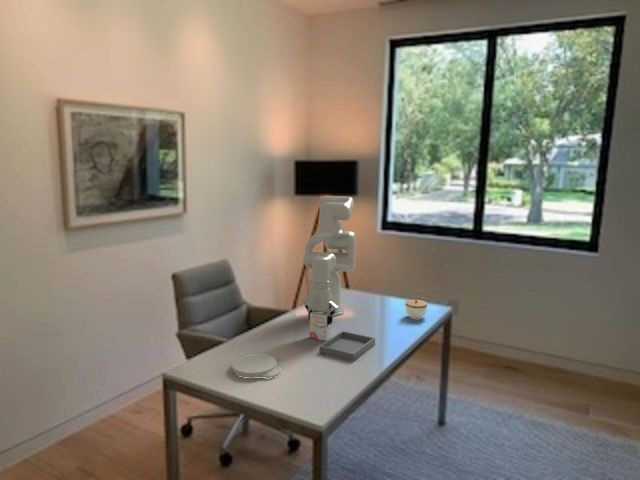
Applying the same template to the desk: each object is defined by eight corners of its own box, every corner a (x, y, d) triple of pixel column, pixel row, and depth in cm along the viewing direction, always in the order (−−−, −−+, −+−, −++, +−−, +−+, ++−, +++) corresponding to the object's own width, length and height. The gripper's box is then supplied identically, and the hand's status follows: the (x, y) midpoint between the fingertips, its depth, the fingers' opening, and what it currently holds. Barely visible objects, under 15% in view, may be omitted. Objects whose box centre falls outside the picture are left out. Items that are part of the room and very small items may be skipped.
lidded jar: (429, 316, 244) (430, 298, 242) (421, 322, 235) (422, 304, 233) (409, 312, 250) (410, 295, 248) (401, 318, 241) (402, 300, 239)
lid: (263, 386, 172) (263, 379, 171) (221, 373, 182) (221, 365, 181) (291, 368, 186) (291, 361, 185) (251, 356, 196) (251, 349, 196)
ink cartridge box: (309, 338, 215) (309, 306, 213) (314, 334, 220) (314, 303, 217) (326, 341, 212) (326, 309, 209) (331, 337, 216) (331, 305, 213)
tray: (319, 352, 200) (319, 345, 199) (342, 337, 217) (342, 330, 216) (353, 361, 192) (354, 354, 191) (375, 344, 209) (375, 337, 208)
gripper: (299, 283, 212) (299, 320, 215) (333, 289, 204) (333, 328, 207) (308, 279, 219) (308, 316, 222) (341, 285, 210) (341, 323, 213)
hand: (320, 321), depth 214 cm, fingers closed on ink cartridge box, 9 cm apart
